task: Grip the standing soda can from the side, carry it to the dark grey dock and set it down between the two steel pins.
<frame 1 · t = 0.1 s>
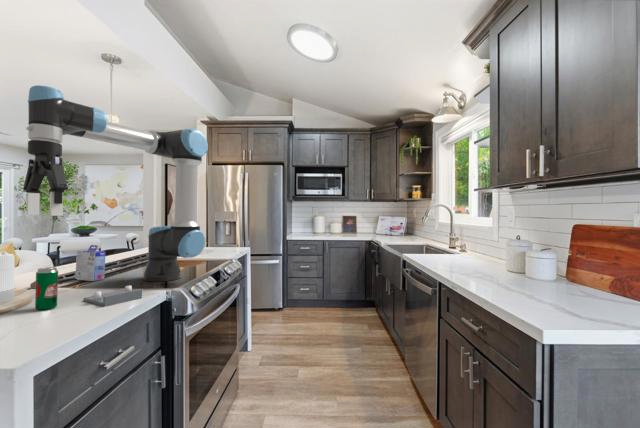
hand: (44, 215, 93), 28 cm above the countertop, tool pointing down, fingers open, 13 cm apart
soda can: (46, 309, 96), on the countertop
dock: (113, 299, 107), on the countertop
ink cartridge box: (90, 280, 137), on the countertop
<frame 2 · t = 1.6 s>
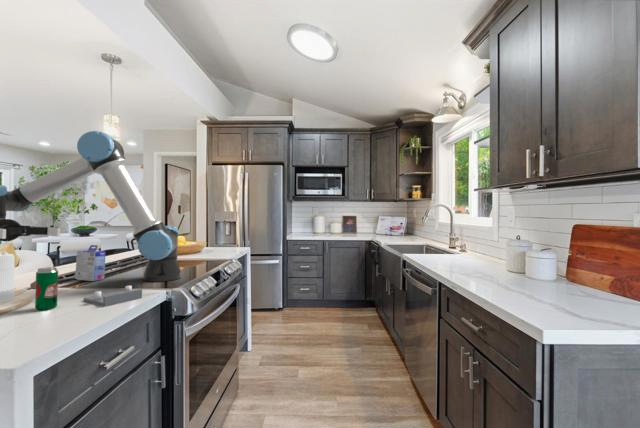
hand: (33, 233, 100), 22 cm above the countertop, tool horizontal, fingers open, 13 cm apart
nothing on the countertop moved.
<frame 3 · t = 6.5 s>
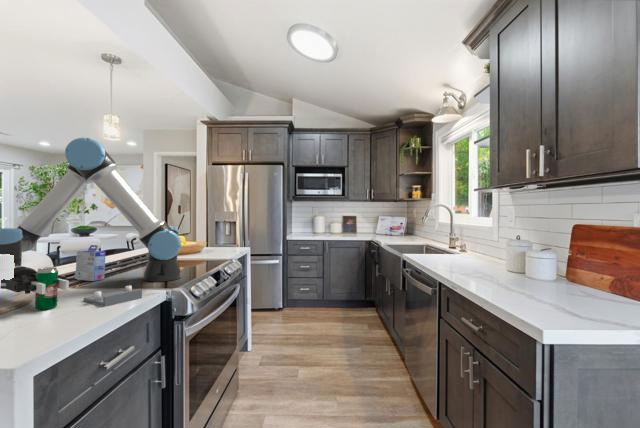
hand: (55, 287, 93), 7 cm above the countertop, tool horizontal, fingers closed on soda can, 5 cm apart
soda can: (46, 309, 96), on the countertop, touching gripper
everything else where it was.
when the fingers open (9 cm above the countertop, at t = 12.3 s): soda can drops 1 cm, resting on dock.
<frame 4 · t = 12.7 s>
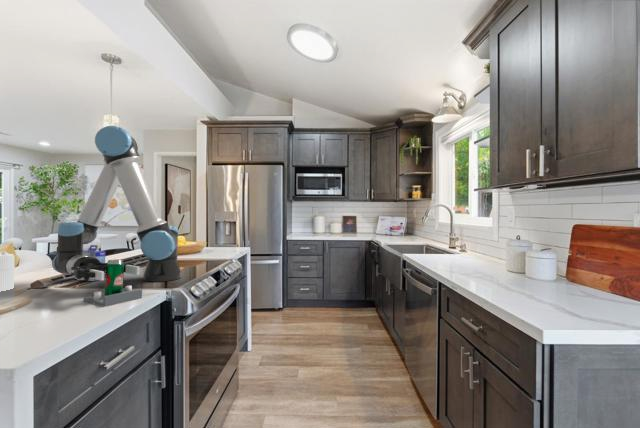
hand: (121, 273, 105), 9 cm above the countertop, tool horizontal, fingers open, 11 cm apart
soda can: (113, 296, 107), point 1 cm above the countertop, touching dock
everything else where it was.
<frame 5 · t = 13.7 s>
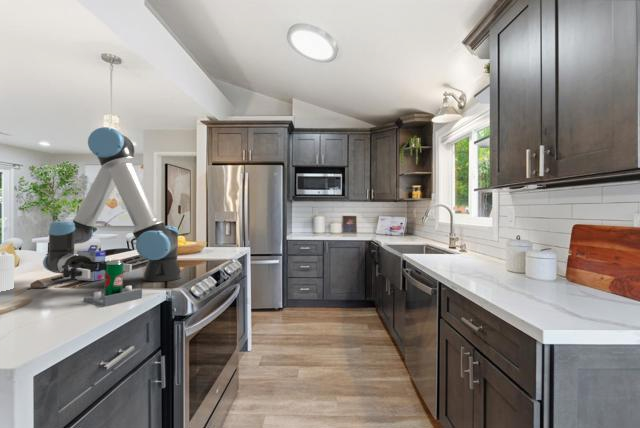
hand: (111, 271, 108), 9 cm above the countertop, tool horizontal, fingers open, 13 cm apart
nothing on the countertop moved.
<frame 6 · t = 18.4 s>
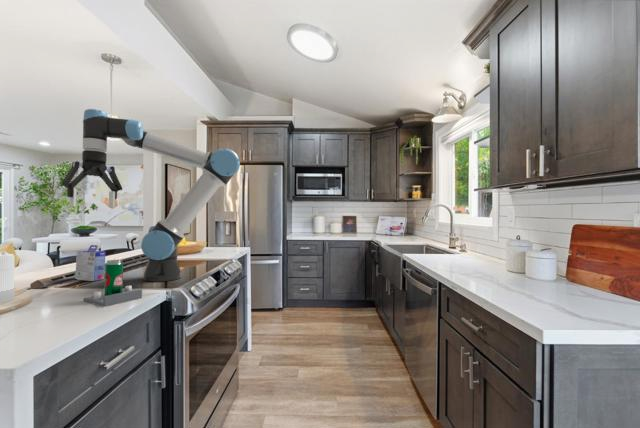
hand: (93, 207, 122), 31 cm above the countertop, tool pointing down, fingers open, 13 cm apart
nothing on the countertop moved.
at the end: soda can inside the target area on the dock (0.1 cm from its centre), point 0.8 cm above the dock's base; soda can tilted 0°; the gripper is holding nothing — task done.
